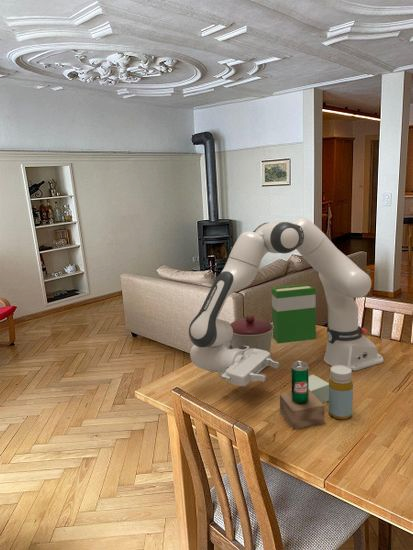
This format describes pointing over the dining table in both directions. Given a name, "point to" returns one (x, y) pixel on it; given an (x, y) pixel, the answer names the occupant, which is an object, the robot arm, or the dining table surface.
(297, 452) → the dining table surface
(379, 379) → the dining table surface
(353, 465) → the dining table surface
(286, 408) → the walnut block
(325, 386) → the sage block
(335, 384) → the bottle
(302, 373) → the soda can
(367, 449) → the dining table surface
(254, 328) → the canister
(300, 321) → the green cereal box
